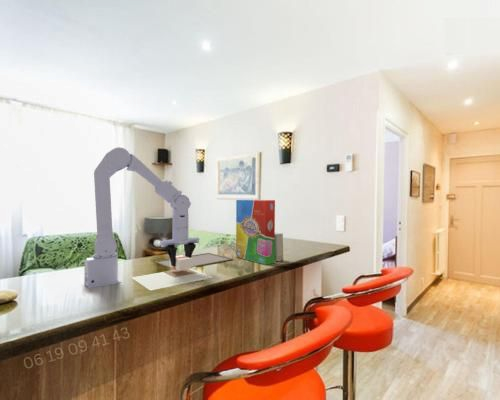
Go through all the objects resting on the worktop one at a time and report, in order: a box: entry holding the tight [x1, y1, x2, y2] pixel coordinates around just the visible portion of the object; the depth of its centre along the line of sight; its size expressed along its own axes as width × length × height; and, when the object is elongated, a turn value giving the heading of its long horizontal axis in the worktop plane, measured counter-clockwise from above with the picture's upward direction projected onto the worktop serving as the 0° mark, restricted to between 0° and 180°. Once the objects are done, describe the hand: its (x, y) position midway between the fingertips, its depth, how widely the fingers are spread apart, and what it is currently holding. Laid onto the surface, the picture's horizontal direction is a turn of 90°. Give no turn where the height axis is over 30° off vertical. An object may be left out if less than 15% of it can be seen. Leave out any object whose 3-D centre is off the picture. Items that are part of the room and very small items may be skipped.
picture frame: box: [154, 252, 234, 270], centre depth 124 cm, size 19×1×28 cm
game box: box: [235, 199, 276, 266], centre depth 126 cm, size 21×6×27 cm, turn 41°
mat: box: [130, 268, 214, 291], centre depth 97 cm, size 22×18×1 cm
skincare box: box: [275, 232, 284, 262], centre depth 126 cm, size 6×4×12 cm
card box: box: [168, 254, 193, 271], centre depth 103 cm, size 8×5×4 cm, turn 41°
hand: (180, 264), depth 103 cm, fingers closed on card box, 5 cm apart
